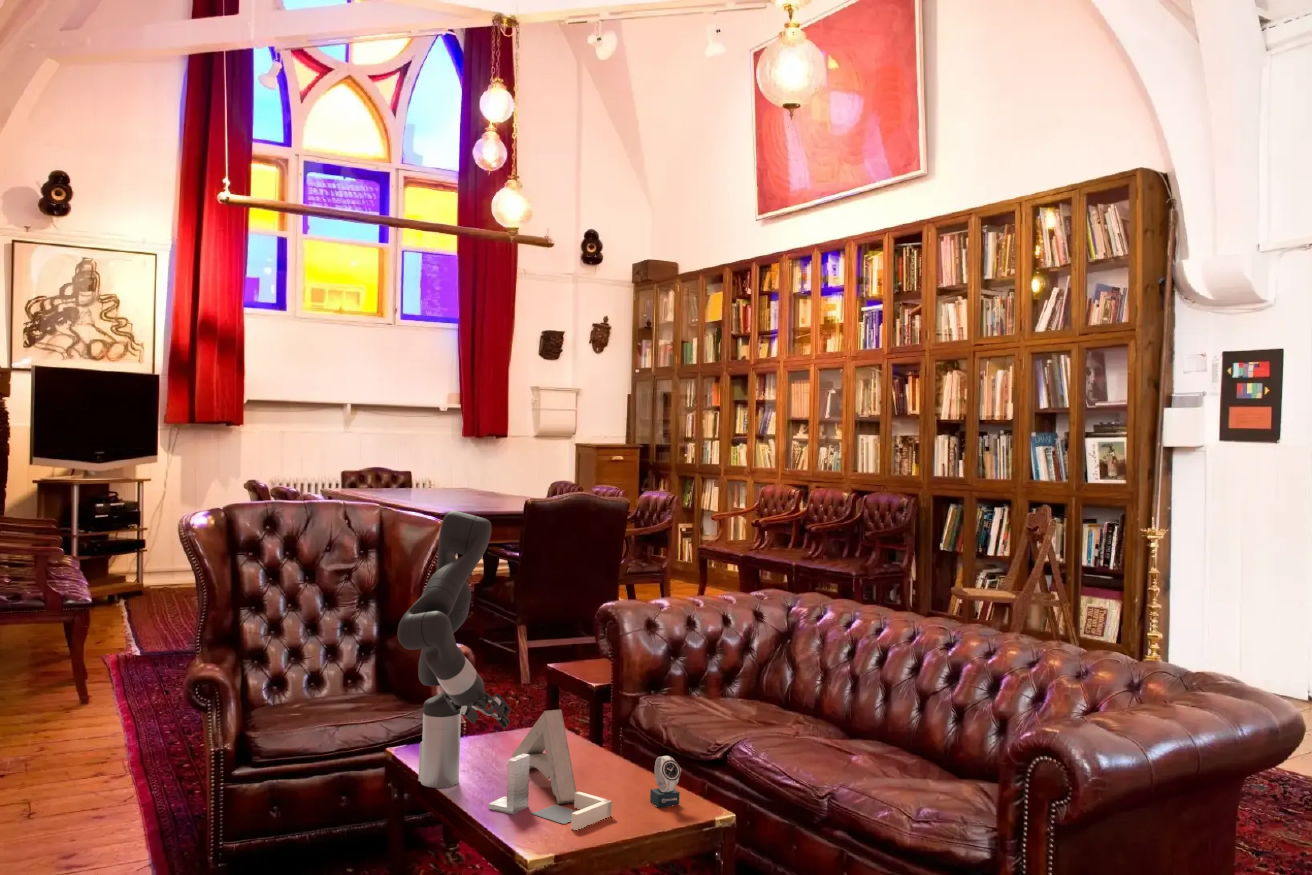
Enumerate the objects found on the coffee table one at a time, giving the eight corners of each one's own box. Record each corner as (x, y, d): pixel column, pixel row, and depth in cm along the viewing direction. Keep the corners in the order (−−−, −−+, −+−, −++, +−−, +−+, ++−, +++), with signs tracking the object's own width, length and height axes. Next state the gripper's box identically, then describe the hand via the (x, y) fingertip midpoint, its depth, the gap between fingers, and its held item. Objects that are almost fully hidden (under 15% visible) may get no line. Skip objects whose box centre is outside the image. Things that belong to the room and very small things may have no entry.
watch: (661, 810, 233) (663, 763, 233) (647, 800, 240) (648, 753, 241) (683, 807, 235) (684, 760, 236) (667, 797, 243) (669, 751, 243)
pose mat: (531, 814, 228) (531, 813, 228) (555, 805, 235) (555, 804, 235) (564, 824, 222) (564, 823, 222) (587, 815, 229) (587, 814, 229)
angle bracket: (488, 808, 231) (490, 756, 231) (504, 801, 236) (505, 750, 237) (512, 814, 228) (514, 761, 228) (528, 806, 233) (529, 754, 234)
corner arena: (542, 819, 225) (543, 804, 225) (578, 806, 234) (578, 791, 234) (576, 830, 219) (576, 814, 219) (611, 816, 228) (611, 800, 228)
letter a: (541, 837, 258) (577, 799, 236) (525, 839, 256) (560, 801, 234) (527, 753, 270) (561, 709, 248) (512, 754, 268) (544, 710, 246)
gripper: (494, 667, 211) (524, 712, 221) (441, 660, 217) (472, 704, 227) (478, 697, 206) (509, 741, 216) (424, 689, 212) (456, 733, 222)
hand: (490, 722), depth 221 cm, fingers open, 8 cm apart
